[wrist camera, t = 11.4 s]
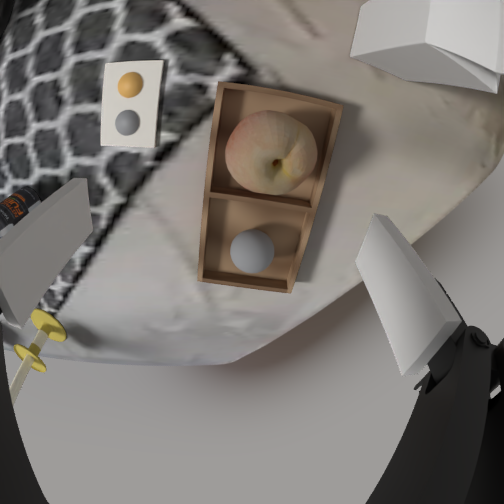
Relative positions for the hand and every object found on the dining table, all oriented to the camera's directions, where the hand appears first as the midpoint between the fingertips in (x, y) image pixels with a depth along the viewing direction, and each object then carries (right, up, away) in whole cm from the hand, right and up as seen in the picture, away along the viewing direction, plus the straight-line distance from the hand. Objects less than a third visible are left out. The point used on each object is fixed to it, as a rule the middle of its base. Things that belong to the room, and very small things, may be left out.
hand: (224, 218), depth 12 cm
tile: (-12, +15, +14) cm, 24 cm away
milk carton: (+15, +21, +9) cm, 28 cm away
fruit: (+3, +10, +16) cm, 19 cm away
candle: (-43, -17, +35) cm, 58 cm away
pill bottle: (-32, +6, +20) cm, 38 cm away
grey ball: (+1, 0, +22) cm, 22 cm away
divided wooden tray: (+2, +5, +20) cm, 20 cm away
